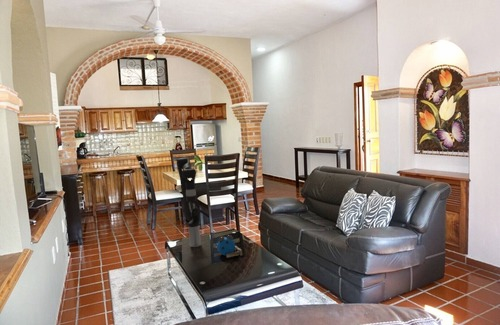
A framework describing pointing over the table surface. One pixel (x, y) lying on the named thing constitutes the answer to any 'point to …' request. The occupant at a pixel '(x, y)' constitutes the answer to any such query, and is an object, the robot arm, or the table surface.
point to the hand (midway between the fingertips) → (193, 216)
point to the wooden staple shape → (237, 252)
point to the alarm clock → (226, 245)
